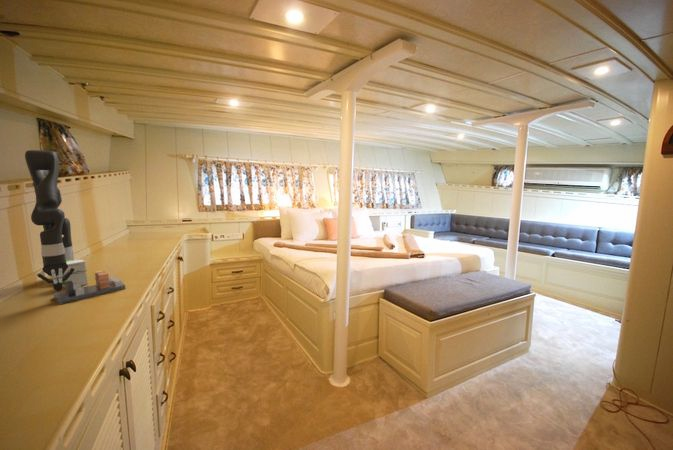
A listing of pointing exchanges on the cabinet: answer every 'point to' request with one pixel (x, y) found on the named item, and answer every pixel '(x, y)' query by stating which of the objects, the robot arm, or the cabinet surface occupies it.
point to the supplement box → (77, 272)
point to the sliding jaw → (73, 288)
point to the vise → (90, 291)
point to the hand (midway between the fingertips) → (58, 290)
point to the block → (102, 279)
